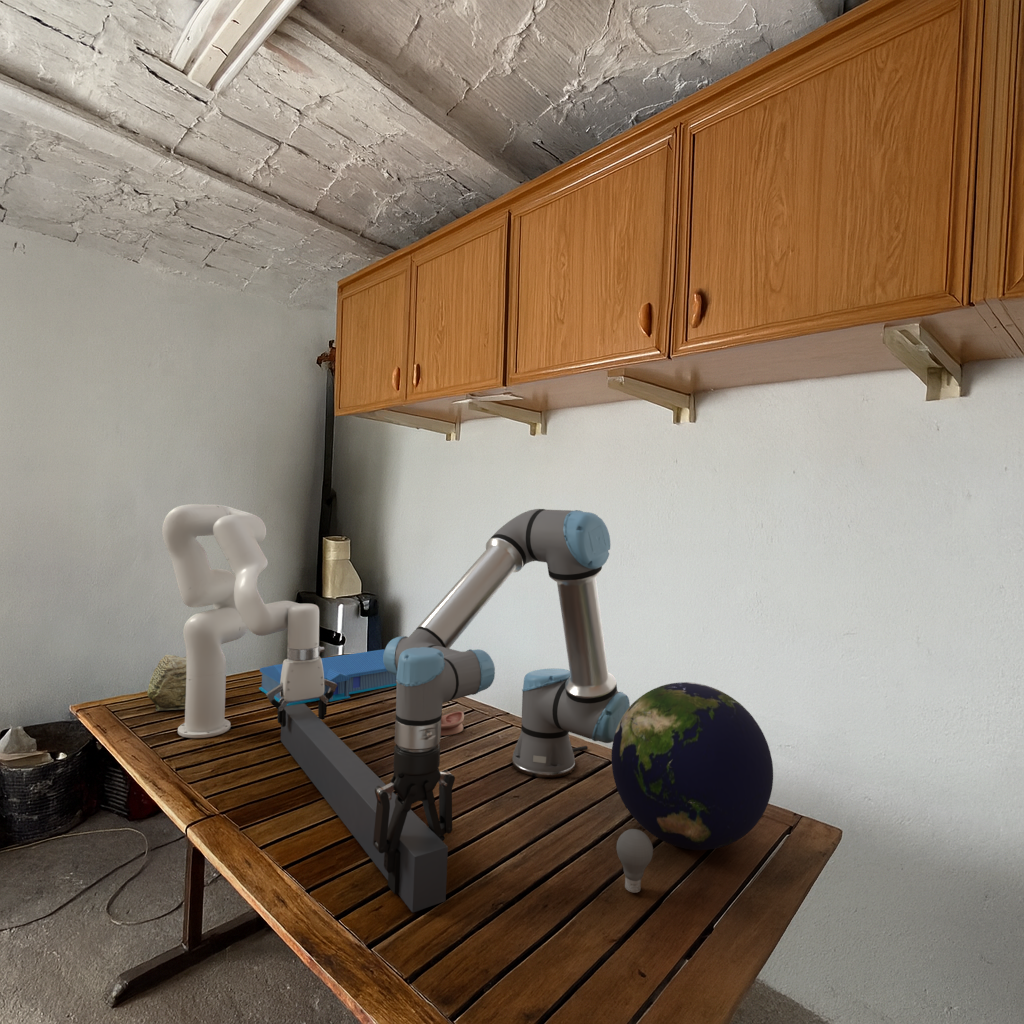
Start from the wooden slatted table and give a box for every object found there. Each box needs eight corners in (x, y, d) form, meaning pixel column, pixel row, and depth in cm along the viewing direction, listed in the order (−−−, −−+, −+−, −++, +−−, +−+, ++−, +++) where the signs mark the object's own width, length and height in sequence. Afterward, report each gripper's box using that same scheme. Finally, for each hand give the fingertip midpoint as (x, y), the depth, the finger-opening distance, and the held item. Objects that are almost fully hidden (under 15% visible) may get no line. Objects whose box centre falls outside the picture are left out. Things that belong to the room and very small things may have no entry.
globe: (590, 859, 114) (598, 694, 114) (625, 791, 142) (631, 658, 142) (768, 905, 103) (778, 722, 103) (769, 822, 131) (776, 678, 130)
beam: (280, 740, 163) (281, 706, 163) (303, 736, 166) (304, 703, 166) (412, 913, 98) (414, 856, 98) (445, 901, 101) (448, 846, 101)
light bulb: (610, 879, 108) (613, 822, 108) (644, 879, 109) (647, 822, 109) (619, 902, 102) (622, 840, 102) (655, 901, 103) (658, 840, 103)
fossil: (144, 707, 182) (145, 655, 182) (212, 696, 194) (213, 647, 194) (151, 716, 175) (153, 662, 175) (221, 703, 188) (223, 653, 188)
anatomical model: (409, 718, 171) (423, 705, 182) (408, 733, 171) (423, 719, 182) (456, 724, 168) (468, 710, 180) (455, 739, 168) (467, 724, 180)
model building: (289, 709, 186) (291, 675, 185) (258, 688, 204) (259, 657, 204) (403, 687, 212) (405, 657, 212) (366, 670, 230) (368, 643, 230)
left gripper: (332, 646, 167) (331, 711, 167) (263, 654, 157) (262, 723, 157) (341, 652, 160) (341, 719, 161) (270, 661, 151) (270, 732, 151)
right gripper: (371, 763, 96) (365, 914, 96) (478, 741, 107) (472, 877, 107) (354, 746, 102) (348, 888, 103) (456, 727, 113) (451, 855, 113)
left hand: (302, 721), depth 159 cm, fingers open, 9 cm apart
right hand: (411, 882), depth 105 cm, fingers closed on beam, 6 cm apart
